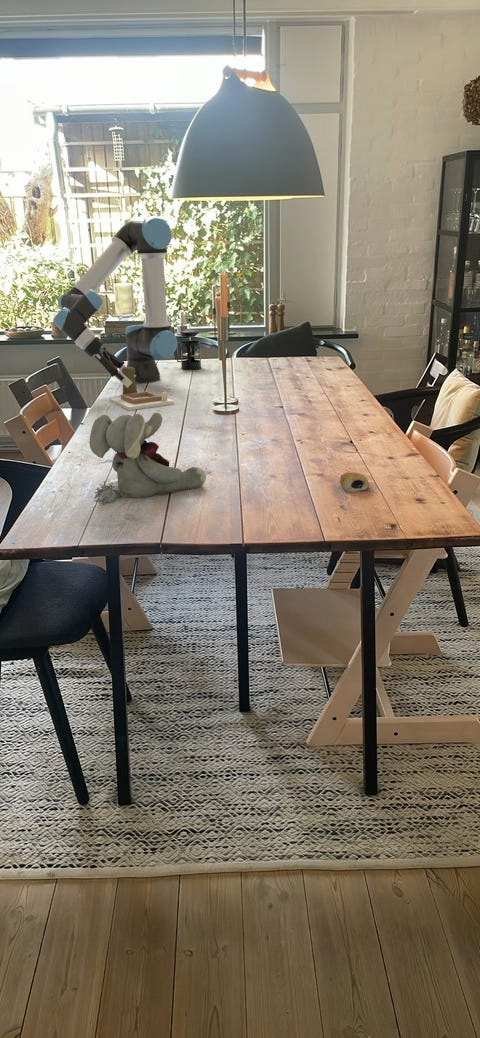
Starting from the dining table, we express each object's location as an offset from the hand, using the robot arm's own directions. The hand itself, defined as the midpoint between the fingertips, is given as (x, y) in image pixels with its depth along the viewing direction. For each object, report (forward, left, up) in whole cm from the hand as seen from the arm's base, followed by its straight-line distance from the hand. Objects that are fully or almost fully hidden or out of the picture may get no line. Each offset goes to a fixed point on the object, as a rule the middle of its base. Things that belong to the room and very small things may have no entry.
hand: (132, 381), depth 296 cm
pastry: (+1, +135, -6) cm, 135 cm away
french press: (-47, -42, -6) cm, 63 cm away
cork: (+1, -1, -6) cm, 6 cm away
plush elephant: (+46, +108, -6) cm, 117 cm away
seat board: (+3, +14, -5) cm, 15 cm away
